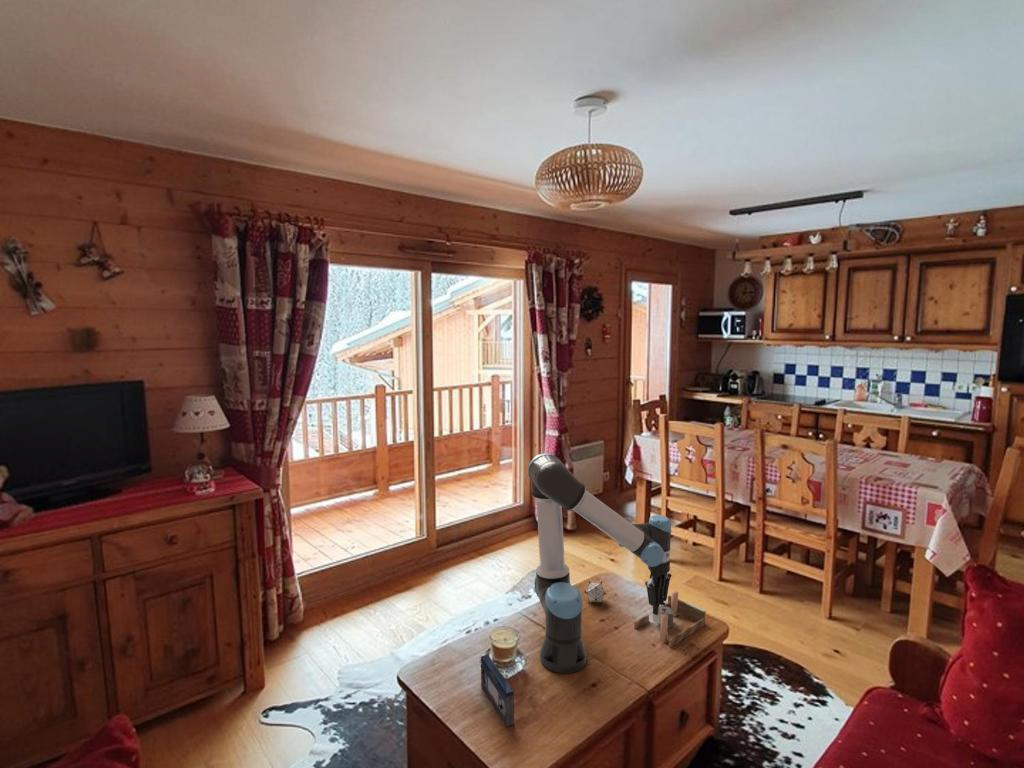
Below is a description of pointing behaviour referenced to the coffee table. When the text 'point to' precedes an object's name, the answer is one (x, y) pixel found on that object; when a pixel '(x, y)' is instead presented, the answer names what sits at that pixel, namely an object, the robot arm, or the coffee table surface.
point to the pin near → (664, 628)
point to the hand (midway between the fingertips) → (657, 621)
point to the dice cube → (670, 616)
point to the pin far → (674, 602)
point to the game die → (595, 592)
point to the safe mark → (695, 607)
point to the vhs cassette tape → (497, 690)
